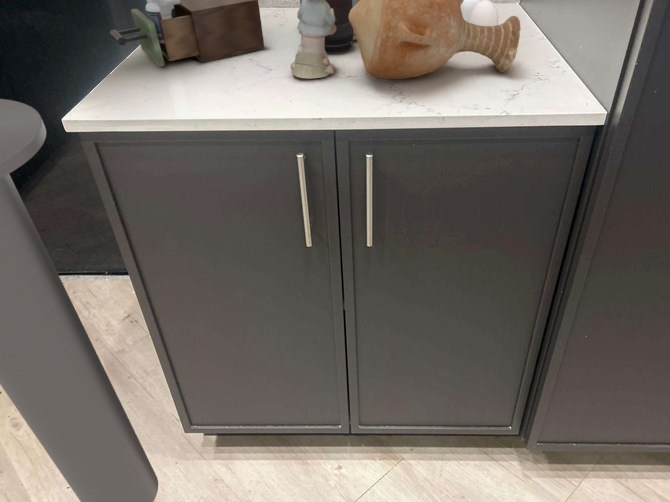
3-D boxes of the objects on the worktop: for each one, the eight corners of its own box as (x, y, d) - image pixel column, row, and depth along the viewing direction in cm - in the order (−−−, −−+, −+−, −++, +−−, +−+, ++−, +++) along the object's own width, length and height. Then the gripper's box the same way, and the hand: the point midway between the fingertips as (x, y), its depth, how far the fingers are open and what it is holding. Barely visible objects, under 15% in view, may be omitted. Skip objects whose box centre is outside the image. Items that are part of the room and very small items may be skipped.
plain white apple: (476, 28, 126) (480, -12, 121) (446, 24, 128) (448, -15, 123) (485, 19, 131) (489, -19, 126) (456, 16, 133) (459, -22, 128)
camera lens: (314, 55, 115) (307, -27, 105) (317, 42, 121) (310, -37, 111) (354, 55, 114) (351, -28, 105) (355, 41, 121) (352, -38, 111)
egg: (462, 36, 122) (465, -2, 117) (486, 32, 123) (490, -6, 119) (476, 45, 117) (480, 5, 113) (502, 41, 119) (506, 2, 114)
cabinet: (202, 63, 113) (191, 11, 106) (181, 45, 121) (170, -4, 115) (264, 49, 118) (258, -1, 112) (240, 33, 126) (233, -14, 120)
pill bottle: (166, 45, 110) (154, -5, 104) (147, 41, 112) (135, -8, 106) (186, 37, 113) (176, -11, 108) (168, 33, 115) (156, -15, 110)
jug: (341, -11, 108) (492, 0, 113) (342, 90, 109) (491, 97, 114) (356, -69, 88) (538, -53, 93) (357, 55, 89) (536, 65, 94)
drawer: (129, 72, 107) (117, 29, 102) (114, 55, 114) (101, 14, 109) (220, 53, 114) (212, 11, 109) (200, 38, 122) (192, -2, 117)
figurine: (332, 82, 104) (325, -41, 91) (287, 80, 105) (273, -42, 92) (341, 64, 110) (335, -53, 98) (299, 63, 111) (287, -53, 99)
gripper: (110, -68, 107) (131, 10, 116) (141, -51, 94) (162, 36, 103) (143, -72, 109) (161, 5, 118) (178, -56, 96) (195, 30, 105)
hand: (162, 20), depth 110 cm, fingers closed on pill bottle, 5 cm apart
